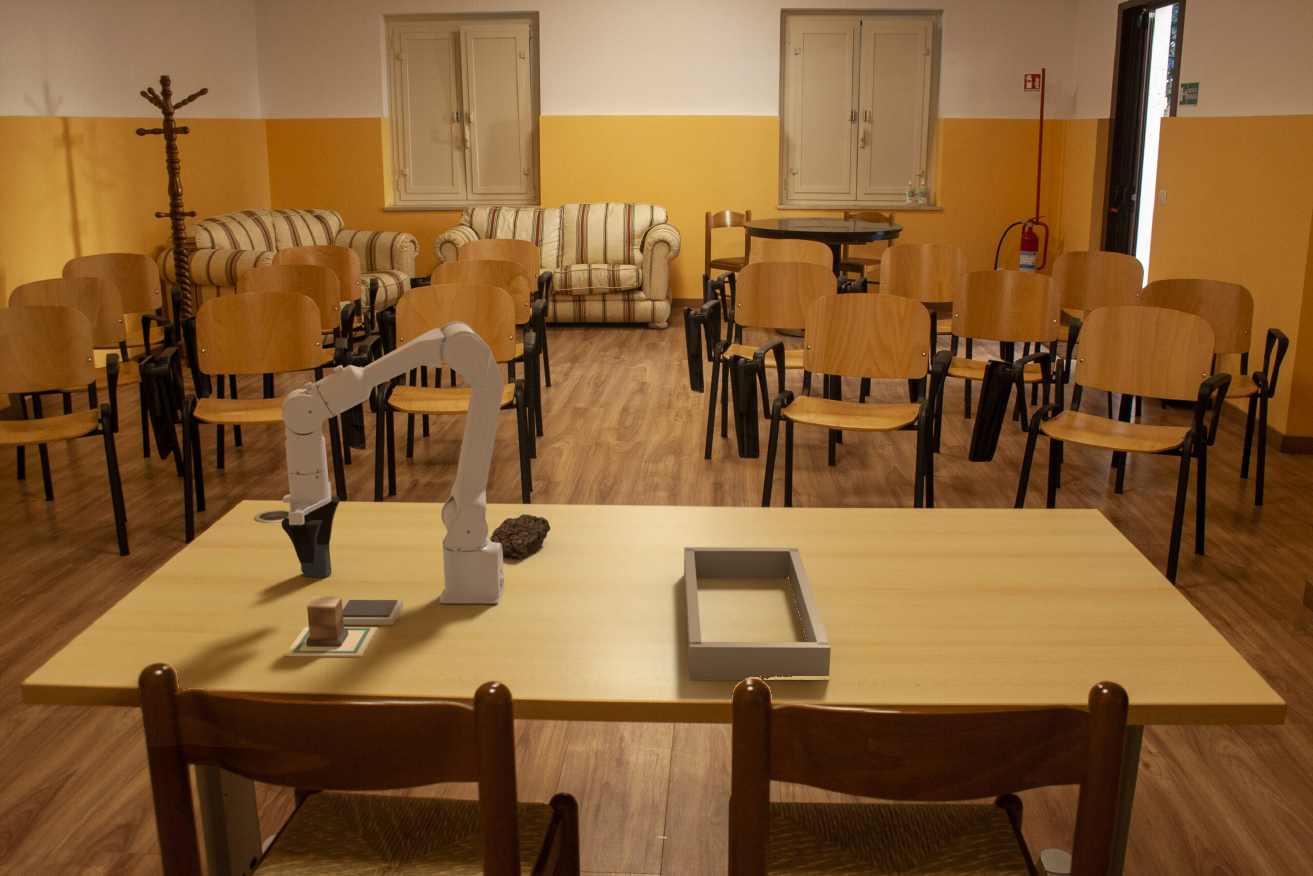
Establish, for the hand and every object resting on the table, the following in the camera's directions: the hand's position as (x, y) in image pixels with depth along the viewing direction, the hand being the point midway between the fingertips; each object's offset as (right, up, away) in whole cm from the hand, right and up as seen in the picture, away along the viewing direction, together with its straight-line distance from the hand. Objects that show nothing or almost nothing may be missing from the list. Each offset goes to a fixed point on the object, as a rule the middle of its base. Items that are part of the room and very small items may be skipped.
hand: (315, 553), depth 170 cm
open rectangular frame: (+67, -11, 0) cm, 68 cm away
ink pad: (+8, -10, +2) cm, 13 cm away
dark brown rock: (+28, -2, +30) cm, 41 cm away
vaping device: (-5, -6, +17) cm, 19 cm away
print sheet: (+5, -12, -7) cm, 15 cm away
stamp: (+4, -12, -8) cm, 15 cm away
